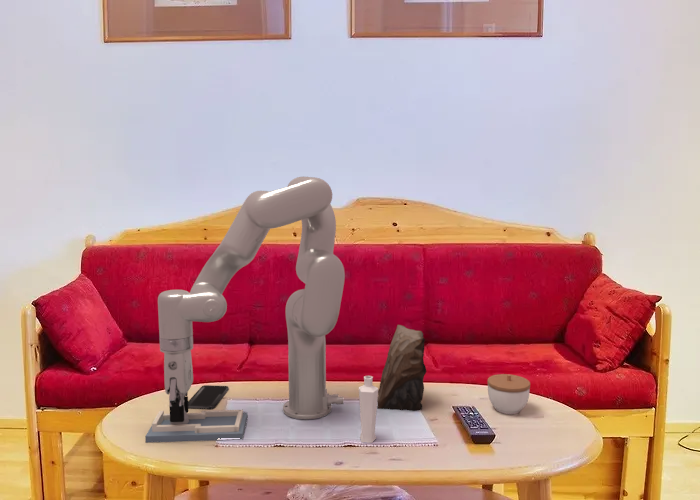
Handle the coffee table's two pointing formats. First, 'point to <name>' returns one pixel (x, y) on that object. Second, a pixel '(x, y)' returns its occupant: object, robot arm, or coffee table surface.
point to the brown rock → (403, 372)
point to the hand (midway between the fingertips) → (179, 416)
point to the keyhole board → (199, 426)
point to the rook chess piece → (184, 412)
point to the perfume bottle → (368, 409)
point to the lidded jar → (508, 392)
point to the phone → (207, 397)
